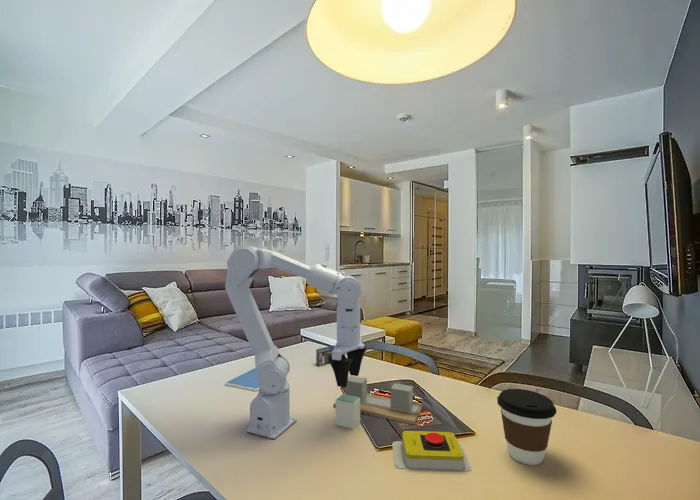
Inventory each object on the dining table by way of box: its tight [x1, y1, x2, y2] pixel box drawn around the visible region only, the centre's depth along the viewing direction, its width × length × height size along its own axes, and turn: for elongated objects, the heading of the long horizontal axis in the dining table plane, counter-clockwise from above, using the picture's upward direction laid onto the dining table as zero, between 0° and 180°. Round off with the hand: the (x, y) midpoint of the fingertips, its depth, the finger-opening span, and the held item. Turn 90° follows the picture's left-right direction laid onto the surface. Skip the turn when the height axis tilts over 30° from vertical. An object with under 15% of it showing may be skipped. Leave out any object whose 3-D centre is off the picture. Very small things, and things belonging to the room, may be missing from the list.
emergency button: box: [391, 430, 472, 472], centre depth 71 cm, size 9×4×15 cm
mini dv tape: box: [315, 344, 335, 368], centre depth 127 cm, size 8×2×6 cm, turn 131°
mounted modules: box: [344, 375, 414, 411], centre depth 93 cm, size 4×18×5 cm, turn 66°
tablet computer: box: [224, 367, 291, 392], centre depth 114 cm, size 19×13×1 cm, turn 158°
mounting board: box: [333, 393, 424, 425], centre depth 93 cm, size 10×22×1 cm, turn 66°
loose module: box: [335, 393, 361, 430], centre depth 84 cm, size 4×5×6 cm
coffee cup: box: [496, 388, 557, 466], centre depth 71 cm, size 11×11×12 cm
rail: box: [360, 397, 418, 415], centre depth 93 cm, size 4×21×1 cm, turn 66°
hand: (348, 380), depth 85 cm, fingers open, 7 cm apart
